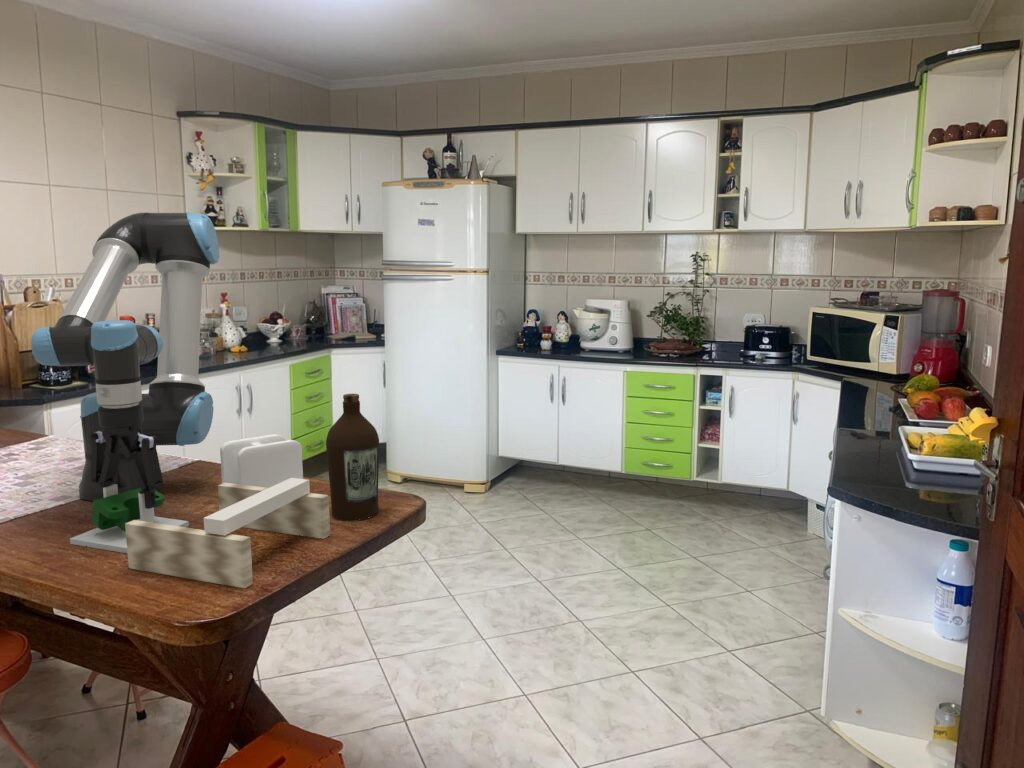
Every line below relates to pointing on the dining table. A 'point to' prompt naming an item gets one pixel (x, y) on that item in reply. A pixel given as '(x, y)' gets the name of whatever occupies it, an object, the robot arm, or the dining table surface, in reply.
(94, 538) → the grey pad
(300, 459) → the cable organizer
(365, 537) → the dining table surface
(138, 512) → the clamp
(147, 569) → the stand
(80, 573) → the dining table surface
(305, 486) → the strap bar
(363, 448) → the olive oil
